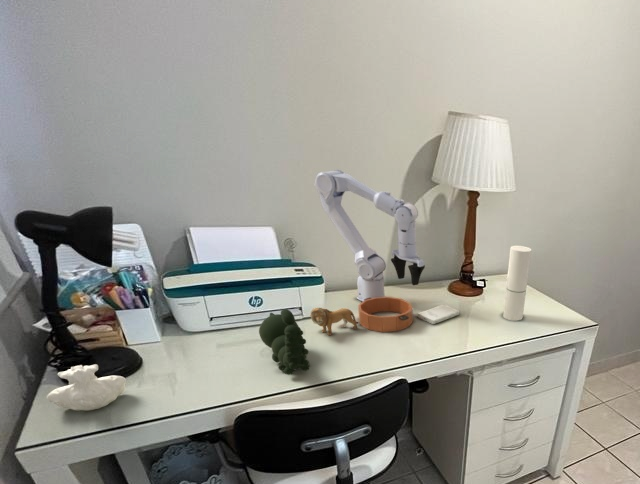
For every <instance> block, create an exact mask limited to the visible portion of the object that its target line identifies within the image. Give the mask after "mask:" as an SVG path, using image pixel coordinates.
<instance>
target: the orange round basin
mask: <svg viewBox="0 0 640 484" xmlns="http://www.w3.org/2000/svg"><path fill="white" fill-rule="evenodd" d="M357 307H358V319H359V324H360V326H362V327H363V328H365V329H367V330H369V331H374V332H381V333H388V332H399V331H401V330H404V329H408V328H409V327H410V325H411V324H412V323H413V321H414V315H413V312H414V311H413V306H412V304H411V302H409V301H407V300H405V299H403V298H399V297H393V296H385V297H376V298H366V299H364V301H363V302H362V301H361V302H360V303H359V304H358V305H357ZM379 312H380V313H381V312H392V313H393V312H394V313H399V314H397V315H396V314H395V315H387V316H386V315H385V316H382V315H381V316H380V315H376V314H374V313H379Z"/></svg>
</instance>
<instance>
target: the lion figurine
mask: <svg viewBox="0 0 640 484" xmlns="http://www.w3.org/2000/svg"><path fill="white" fill-rule="evenodd" d="M310 318H311V321H312V323H313V324H315V325H318V326H319V327H321V328H322V330H321V333H322V334H323V333H326V332H327V334H326V335H327V336H332V334H333V331H332V325H333V324H337V323H339V322H340V321H343V324H341V325H340V328H346V326H347V324H348V323H349V324H352V325H353V326H352V329H353V330H357V328H358V324H359V322H358V321H357V319H356V317H355V314H354V313H353V311H352V310H351V309H349V308H340V309H337V310H334V311H333V310H329V309H327V308H322V307H315V308H314V307H313V308H312V310H311V311H310Z"/></svg>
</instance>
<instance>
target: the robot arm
mask: <svg viewBox="0 0 640 484" xmlns="http://www.w3.org/2000/svg"><path fill="white" fill-rule="evenodd" d="M314 188H315V190H316V191H317V193H318V198H319V201H320V204H321V207H322V209H323V210H324V212H325V213H326V215H327V217H328V218H329V219H330V221H331V222H332V223H333V226H334V227H335V228H336V230H337V231H338V233H339V234H340V235H341V237H342V238H343V240H344V241H345V243H346V245H347V246H348V247H349V249H350V250H351V252H352V253H353V255H354V264H355V266H356V268H357V272H358V275H359V276H358V277H357V280H356V286H357V296H356V298H355V299H357V300H358V301H361V303H362V302H363V301H364V299H366V298H376V297H386V296H385V279H384V271H385V270H386V268H387V263H386V260H385V259H384V258H383V257H382V256H381V255H379V254H378V252H377V251H376V250H375V249H374V248H371V247H369V245H368V243H367V242H366V241H365V239H364V238H363V235H362V234H361V232H359V230H358V228H357V227H356V225H355V224H354V222H353V221H352V219H351V217H350V216H349V215H348V213H347V211H345V208H344V207H343V205H342V200H343V196H344V194H345V193H346V192H351V193H353V194H355V195H358V196H360V197H361V198H364V199H366V200H368V201H370V202H372V203H373V204H374V206H375V208H376V209H377V210H379V211H381V212H383V213H385V214H387V215H389V216H391V217H393V218H394V219H395V221H396V222H397V239H398V240H397V241H398V242H397V244H398V245H397V246H398V249H392V250H391V256H392V257H391V258H390V261H391V263H392V265H393V267H394V269H395V272H396V276H397V278H398V280H402V279H405V275H406V265H407V262H408V263H411V264H409V265H407V268H408V270H409V273H410V280H411V285H412V286H417V285H419V283H420V279H421V275H422V273H423V271H424V270H425V268H426V265H425V260H424V259H421V258H420V257H419V254H418V253H417V228H416V227H417V226H416V225H417V224H416V220H417V219H418V216H419V211H418V208H417V207H416V205H414V204H413V203H412V202H409V201H408V202H405V200H404V199H402V198H401V199H399V198H397V197H395V196H394V195H392V194H391V192H390V191H388V190H386V191H384V190H381V191H379V192H378V191H376V190H375V189H373V188H371V187H370V186H368V185H366V184H365V183H363V182H361V181H360V180H358V179H356V178H354V177H353V176H352V175H351V174H349V173H347V172H344V171H342V170H341V169H334V170H331V171H321V172H319V173H318V174H316V176H315V180H314Z"/></svg>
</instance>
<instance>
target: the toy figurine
mask: <svg viewBox="0 0 640 484" xmlns="http://www.w3.org/2000/svg"><path fill="white" fill-rule="evenodd" d="M258 334H259V337H260V339H261V341H262V343H263V344H264V345H265V346H267V347H268V348H269V349H271V351H272V355H271V359H272V361H273V362H275V363H279V364H278V365H277V366H278V367H277V368H278V370H279V371H282V372H283V371H284V374H285V375H287V376H290V375H293V373H294V372H295V371H296V370H300V369H301V371H303V372H307V371H309V370H310V367H311V366H310V361H309V360H308V359H307V355H308V354H309V350H308V349H307V348H306V347H305V345H306V343H307V339H305V338H304V337H303V335H304V331H303V330H302V329H301V328H300V327H299V324H298V323H297V321H296V317H295V316H294V314H293V313H292V311H291V310H290V309H288V308H284V309H281V311H280V314H275V313H273V312H270V313H269V316H267V317H266V318H265V319H264V320H263V321H262V322H261V323H260V326H259V328H258Z"/></svg>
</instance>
